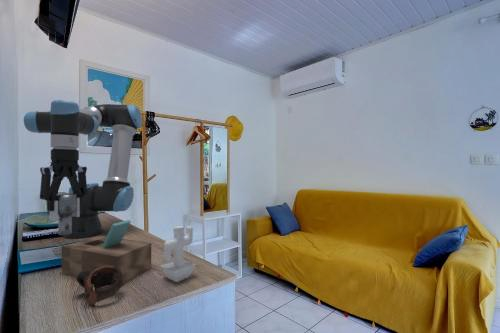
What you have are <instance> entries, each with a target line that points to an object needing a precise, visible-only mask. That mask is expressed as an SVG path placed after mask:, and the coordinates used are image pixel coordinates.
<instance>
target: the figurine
mask: <svg viewBox="0 0 500 333" xmlns="http://www.w3.org/2000/svg"><path fill="white" fill-rule="evenodd" d="M193 229H194V227H193V226H191V225H187V226H186V228H185V226H182V225H179V226H174V227H173V239H169V240H167V241H165V242H164V244H163V251H162V252H163V260H164V261H165V262H167V263H164V264H162V265H160V268H161V270H162V271H163V273H164V274H165V276H166V278H167V279H168V280H171V281H172V282H175V283H179V282H181V281H183V280H185V278H186V279H187V278H190V277H191V274H192V273H193V271H194V269H195V267H196V265H197V264H196V263H193V262H191V261H188V260H185V259H184V248H185V247H186V246H190V245H191V244H192V243H193V240H194V239H193V238H194V236H193V235H194V234H193V233H194V232H193V231H194V230H193ZM172 251H173V261H170V260H171V258H172V256H171V255H172ZM169 261H170V262H169Z"/></svg>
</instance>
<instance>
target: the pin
mask: <svg viewBox="0 0 500 333" xmlns="http://www.w3.org/2000/svg"><path fill="white" fill-rule="evenodd" d="M55 200H56V201H58V221H57V222H58V224H57V225H58V226H57V227H58V236H63V235H68V234H71V233H72V213H76V212H77V194H76V193H69V192H65V193H57V196H56V199H55Z"/></svg>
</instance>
